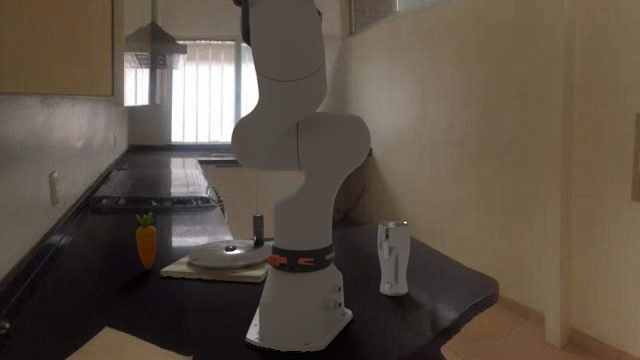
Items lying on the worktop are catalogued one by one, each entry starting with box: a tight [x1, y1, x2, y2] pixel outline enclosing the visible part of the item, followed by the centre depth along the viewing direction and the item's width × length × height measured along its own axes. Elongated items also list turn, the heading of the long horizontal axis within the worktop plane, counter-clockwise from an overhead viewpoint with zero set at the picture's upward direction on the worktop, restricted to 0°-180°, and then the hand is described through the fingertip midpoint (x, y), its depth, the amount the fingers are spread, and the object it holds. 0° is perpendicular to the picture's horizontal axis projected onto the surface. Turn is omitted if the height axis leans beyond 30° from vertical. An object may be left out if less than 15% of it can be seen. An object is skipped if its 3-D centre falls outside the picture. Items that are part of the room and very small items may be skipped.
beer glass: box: [377, 220, 411, 297], centre depth 102 cm, size 7×7×15 cm
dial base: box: [160, 254, 272, 283], centre depth 126 cm, size 26×26×2 cm
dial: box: [187, 213, 272, 270], centre depth 125 cm, size 22×22×10 cm
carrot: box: [135, 211, 158, 270], centre depth 120 cm, size 5×5×15 cm
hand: (301, 122), depth 118 cm, fingers open, 8 cm apart
